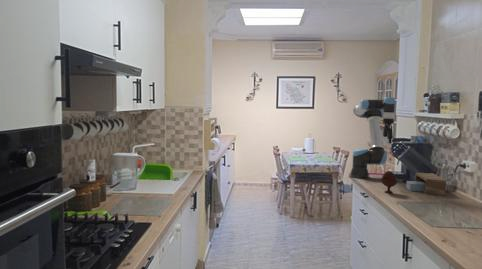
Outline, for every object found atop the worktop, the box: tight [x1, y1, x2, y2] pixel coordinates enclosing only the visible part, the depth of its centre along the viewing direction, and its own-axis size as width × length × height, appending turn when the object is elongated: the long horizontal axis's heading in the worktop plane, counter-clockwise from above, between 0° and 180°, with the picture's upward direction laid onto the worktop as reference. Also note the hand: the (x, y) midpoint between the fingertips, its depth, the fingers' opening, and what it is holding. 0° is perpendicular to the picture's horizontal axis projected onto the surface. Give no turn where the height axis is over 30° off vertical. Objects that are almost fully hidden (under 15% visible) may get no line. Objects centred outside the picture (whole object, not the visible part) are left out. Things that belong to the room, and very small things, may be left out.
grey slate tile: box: [405, 180, 426, 192], centre depth 264 cm, size 10×18×5 cm, turn 80°
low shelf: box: [414, 172, 447, 196], centre depth 263 cm, size 26×12×10 cm, turn 170°
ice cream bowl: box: [380, 170, 399, 195], centre depth 254 cm, size 11×11×15 cm
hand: (387, 146), depth 280 cm, fingers open, 13 cm apart
